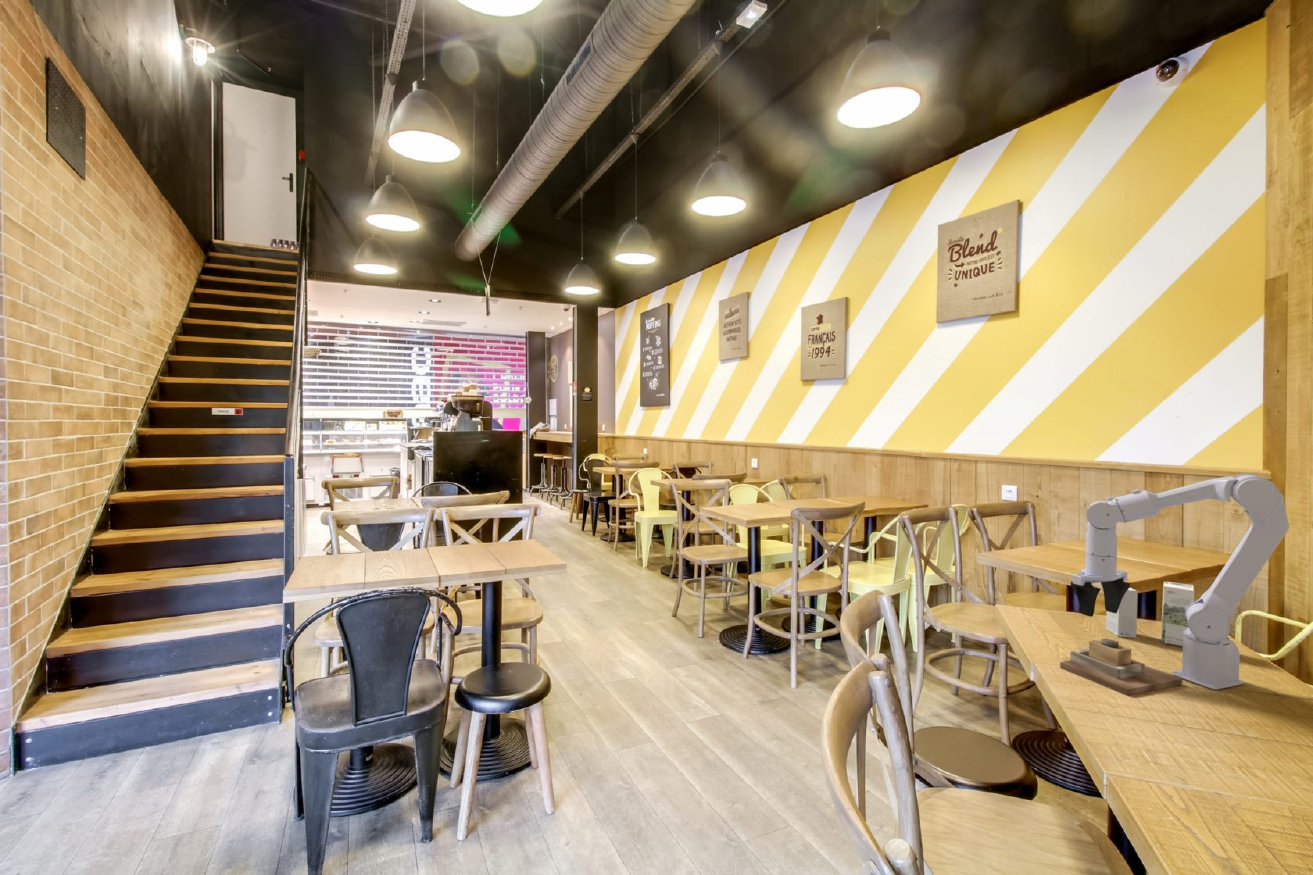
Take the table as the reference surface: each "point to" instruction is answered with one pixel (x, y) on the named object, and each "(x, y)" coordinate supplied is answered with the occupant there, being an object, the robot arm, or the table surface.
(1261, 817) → the table surface
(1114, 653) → the knob block
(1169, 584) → the syrup box
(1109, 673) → the board
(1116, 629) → the skincare box
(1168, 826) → the table surface
